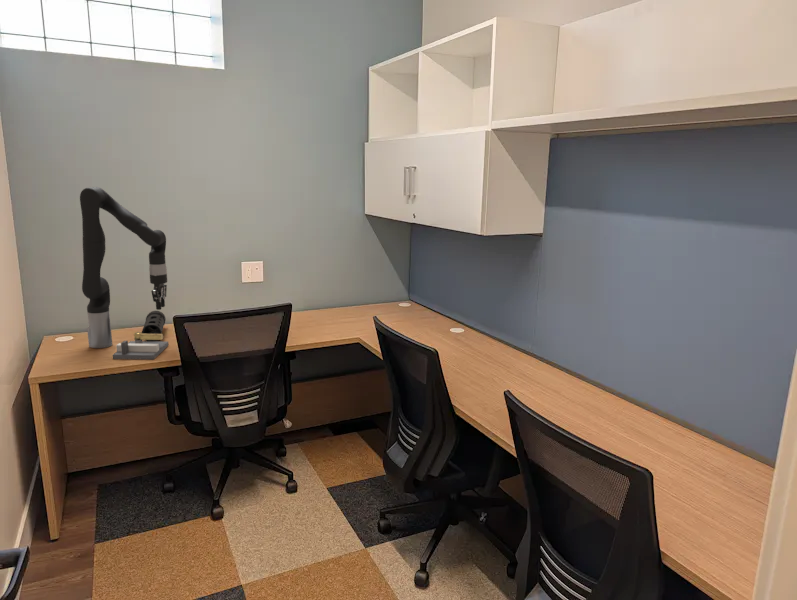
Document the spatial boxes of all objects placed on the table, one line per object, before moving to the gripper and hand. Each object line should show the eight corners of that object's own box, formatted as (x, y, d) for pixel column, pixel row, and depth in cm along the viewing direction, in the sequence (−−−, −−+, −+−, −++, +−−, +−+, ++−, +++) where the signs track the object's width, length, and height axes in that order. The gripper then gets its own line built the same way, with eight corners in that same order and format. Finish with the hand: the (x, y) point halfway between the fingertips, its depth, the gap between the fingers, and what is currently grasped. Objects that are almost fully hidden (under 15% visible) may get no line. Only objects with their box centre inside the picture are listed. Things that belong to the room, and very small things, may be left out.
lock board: (112, 359, 254) (111, 343, 253) (130, 344, 274) (129, 330, 272) (153, 359, 256) (152, 343, 254) (168, 345, 275) (167, 330, 273)
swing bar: (133, 339, 264) (133, 334, 263) (136, 337, 267) (136, 332, 266) (161, 340, 265) (160, 334, 264) (163, 338, 268) (163, 332, 267)
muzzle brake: (141, 344, 275) (140, 324, 272) (147, 328, 301) (145, 309, 298) (162, 343, 278) (161, 323, 275) (166, 327, 304) (165, 309, 301)
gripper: (155, 270, 271) (157, 304, 275) (144, 275, 258) (147, 312, 262) (171, 270, 272) (173, 304, 276) (161, 276, 258) (163, 312, 262)
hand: (160, 308), depth 269 cm, fingers open, 4 cm apart
